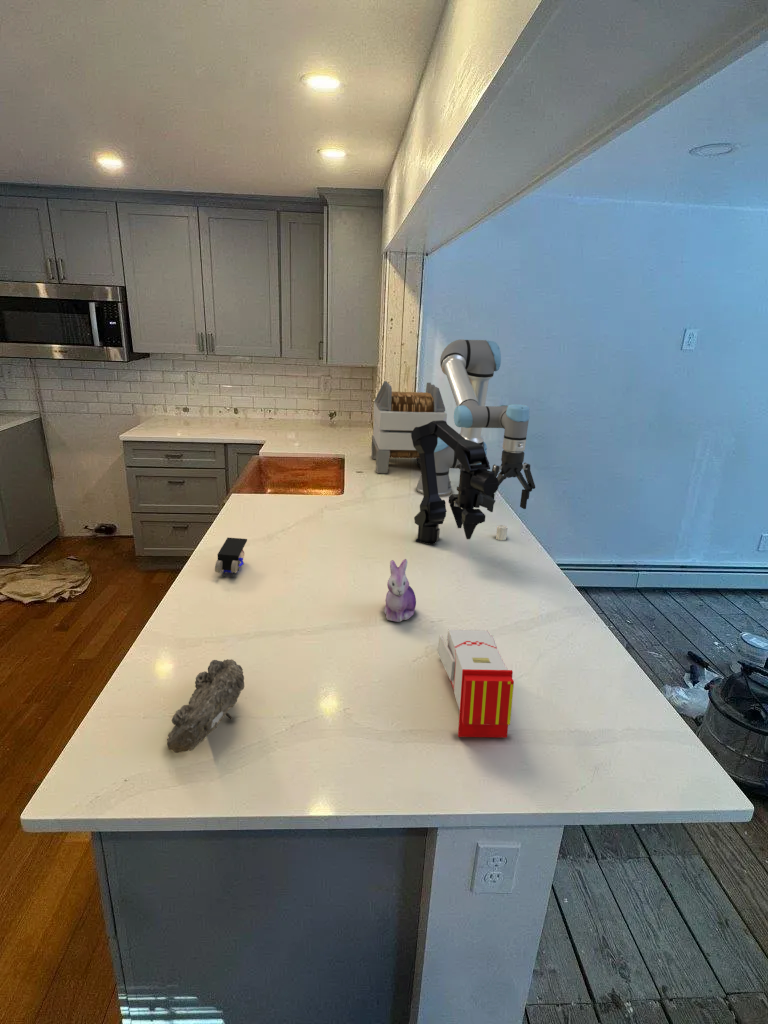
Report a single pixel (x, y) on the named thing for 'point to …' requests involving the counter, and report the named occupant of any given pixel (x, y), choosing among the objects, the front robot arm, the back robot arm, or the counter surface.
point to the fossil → (206, 705)
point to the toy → (478, 682)
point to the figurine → (399, 594)
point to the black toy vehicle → (230, 556)
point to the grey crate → (402, 421)
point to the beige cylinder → (501, 532)
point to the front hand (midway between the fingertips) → (463, 533)
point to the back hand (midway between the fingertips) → (506, 509)
